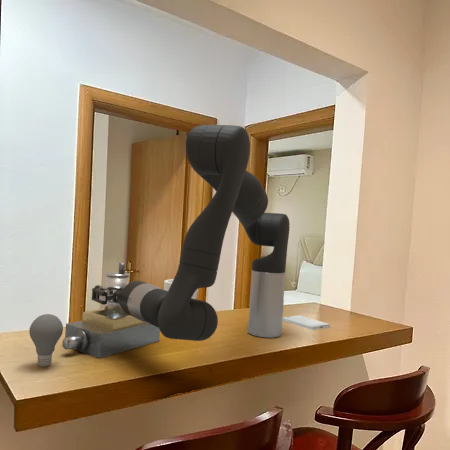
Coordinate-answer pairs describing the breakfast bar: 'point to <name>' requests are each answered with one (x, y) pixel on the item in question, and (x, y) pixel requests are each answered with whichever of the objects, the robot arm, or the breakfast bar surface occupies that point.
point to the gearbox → (108, 334)
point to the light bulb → (45, 337)
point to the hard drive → (306, 322)
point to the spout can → (118, 281)
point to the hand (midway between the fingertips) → (113, 288)
